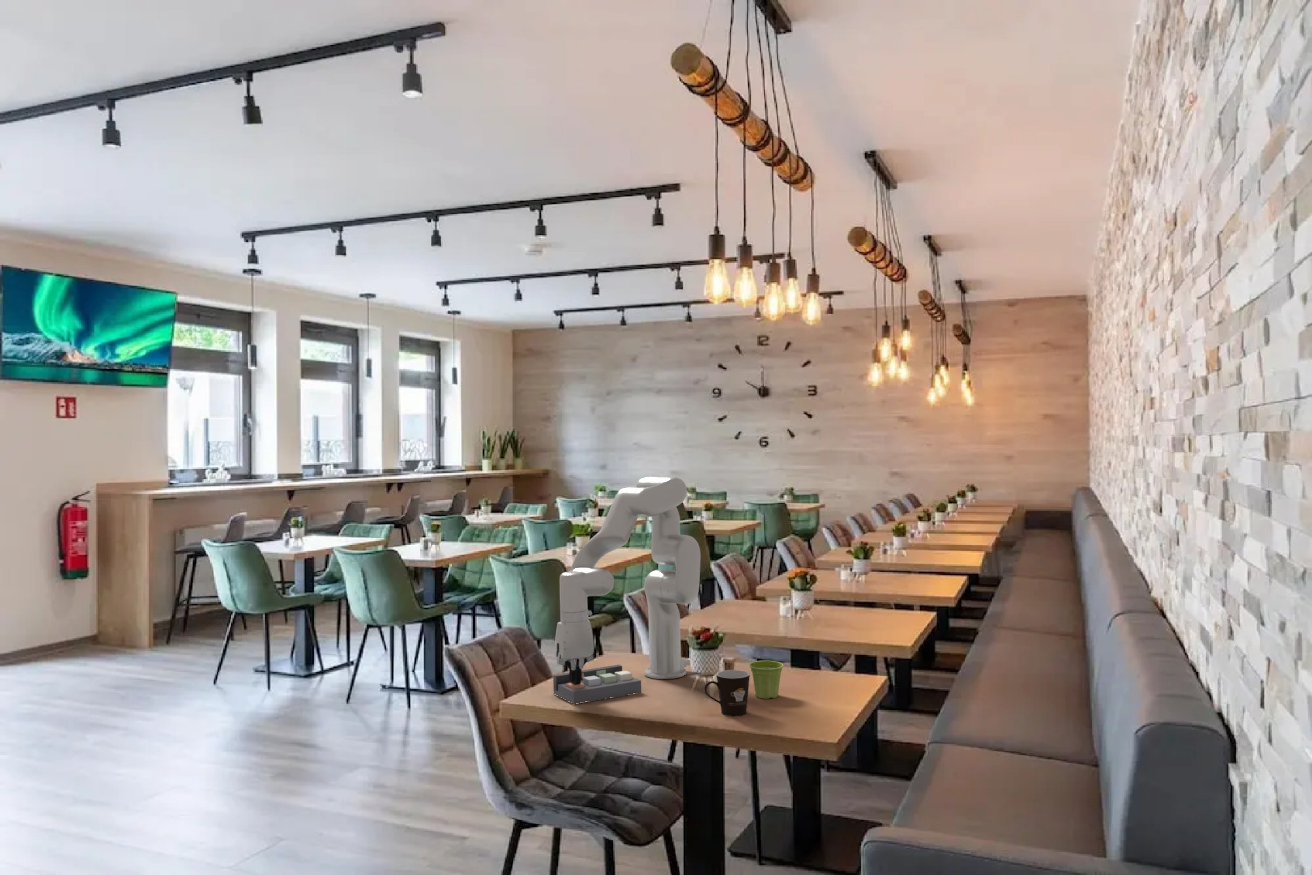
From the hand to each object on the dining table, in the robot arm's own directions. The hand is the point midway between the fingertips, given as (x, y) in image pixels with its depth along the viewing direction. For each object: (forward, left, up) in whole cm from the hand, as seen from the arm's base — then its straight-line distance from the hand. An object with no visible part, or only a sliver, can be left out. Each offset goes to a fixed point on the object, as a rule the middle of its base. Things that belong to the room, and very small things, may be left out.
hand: (575, 683), depth 261 cm
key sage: (-10, 0, -2) cm, 10 cm away
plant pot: (-44, +28, -5) cm, 53 cm away
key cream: (-15, 0, -2) cm, 15 cm away
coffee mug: (-26, +35, -5) cm, 44 cm away
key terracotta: (0, 0, -2) cm, 3 cm away
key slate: (-5, 0, -2) cm, 5 cm away
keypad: (-7, -1, -4) cm, 9 cm away
